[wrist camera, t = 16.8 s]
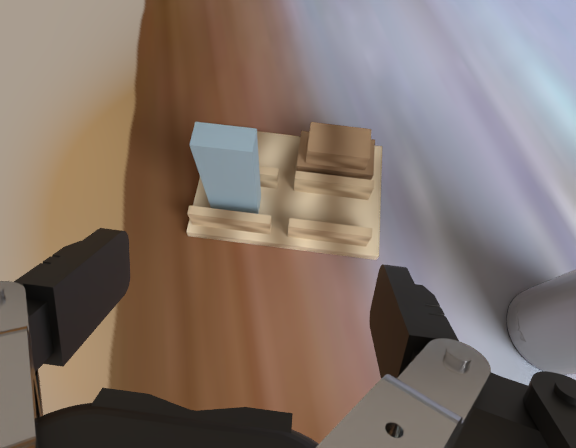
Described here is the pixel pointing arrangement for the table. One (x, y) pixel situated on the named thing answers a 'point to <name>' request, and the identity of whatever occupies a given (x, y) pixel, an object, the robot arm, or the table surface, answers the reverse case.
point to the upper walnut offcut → (338, 146)
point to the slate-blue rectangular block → (228, 165)
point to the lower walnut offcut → (332, 170)
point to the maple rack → (298, 207)
